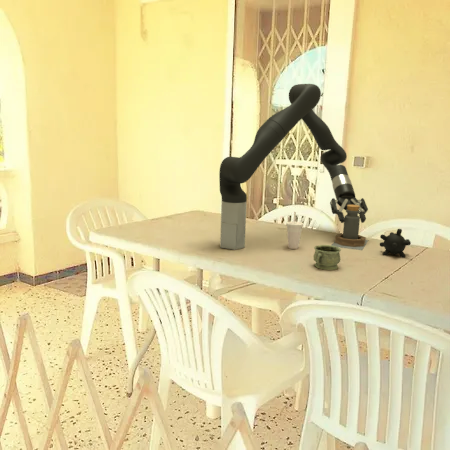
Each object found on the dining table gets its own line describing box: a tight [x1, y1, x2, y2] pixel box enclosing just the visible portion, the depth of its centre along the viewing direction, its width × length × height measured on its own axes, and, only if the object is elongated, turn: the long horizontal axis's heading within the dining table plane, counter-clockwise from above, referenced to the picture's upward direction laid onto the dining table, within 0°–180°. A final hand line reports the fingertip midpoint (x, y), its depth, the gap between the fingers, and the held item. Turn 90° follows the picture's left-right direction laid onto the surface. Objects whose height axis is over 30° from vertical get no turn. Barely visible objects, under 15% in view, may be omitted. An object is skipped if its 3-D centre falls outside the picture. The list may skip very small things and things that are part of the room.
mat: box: [330, 239, 369, 251], centre depth 187 cm, size 18×12×1 cm, turn 156°
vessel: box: [313, 244, 342, 271], centre depth 155 cm, size 12×9×6 cm
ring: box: [334, 233, 367, 247], centre depth 186 cm, size 11×11×2 cm
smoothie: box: [285, 211, 304, 251], centre depth 176 cm, size 6×6×14 cm
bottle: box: [342, 205, 361, 240], centre depth 185 cm, size 6×6×15 cm
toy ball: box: [379, 228, 412, 259], centre depth 171 cm, size 11×11×12 cm
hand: (353, 221), depth 184 cm, fingers open, 8 cm apart
